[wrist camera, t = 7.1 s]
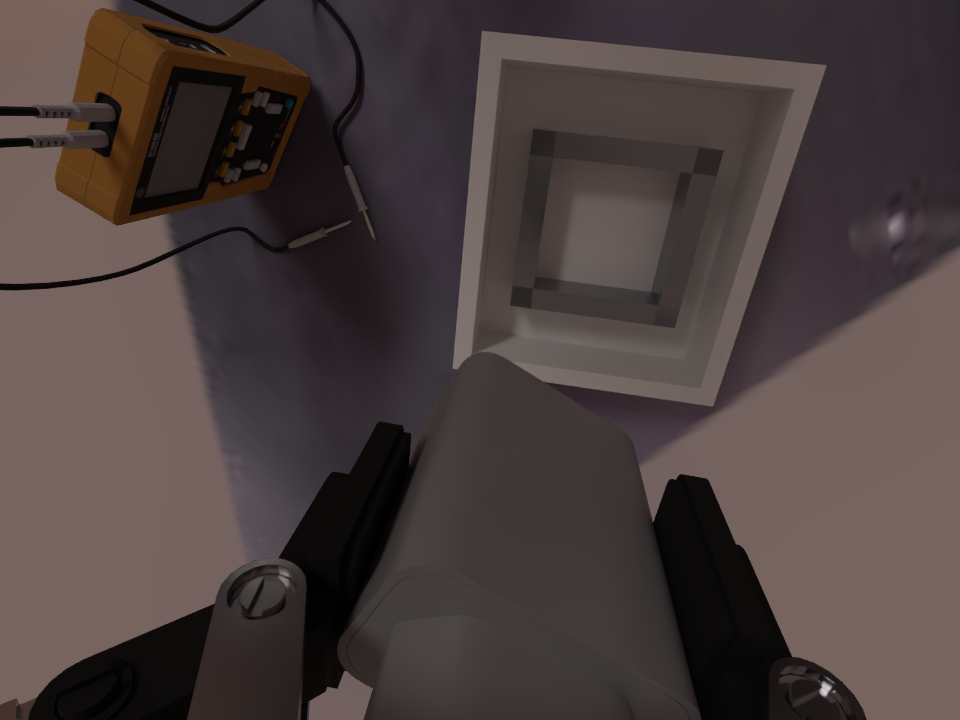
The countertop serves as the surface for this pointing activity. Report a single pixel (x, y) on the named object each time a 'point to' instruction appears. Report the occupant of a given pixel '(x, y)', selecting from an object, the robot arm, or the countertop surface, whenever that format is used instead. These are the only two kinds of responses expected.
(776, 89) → the enclosure
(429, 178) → the countertop surface
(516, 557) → the power adapter
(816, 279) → the countertop surface
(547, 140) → the inlet collar
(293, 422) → the countertop surface
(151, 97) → the multimeter
